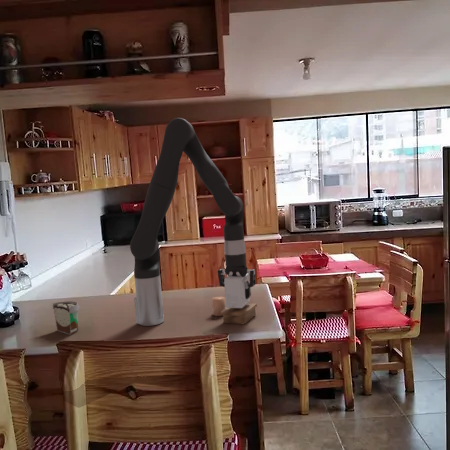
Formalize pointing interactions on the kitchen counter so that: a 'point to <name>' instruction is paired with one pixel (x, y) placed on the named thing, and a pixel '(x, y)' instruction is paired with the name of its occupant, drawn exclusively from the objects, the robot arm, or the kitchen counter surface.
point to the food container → (66, 316)
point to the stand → (239, 314)
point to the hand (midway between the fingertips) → (238, 297)
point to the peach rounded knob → (218, 305)
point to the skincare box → (235, 292)
